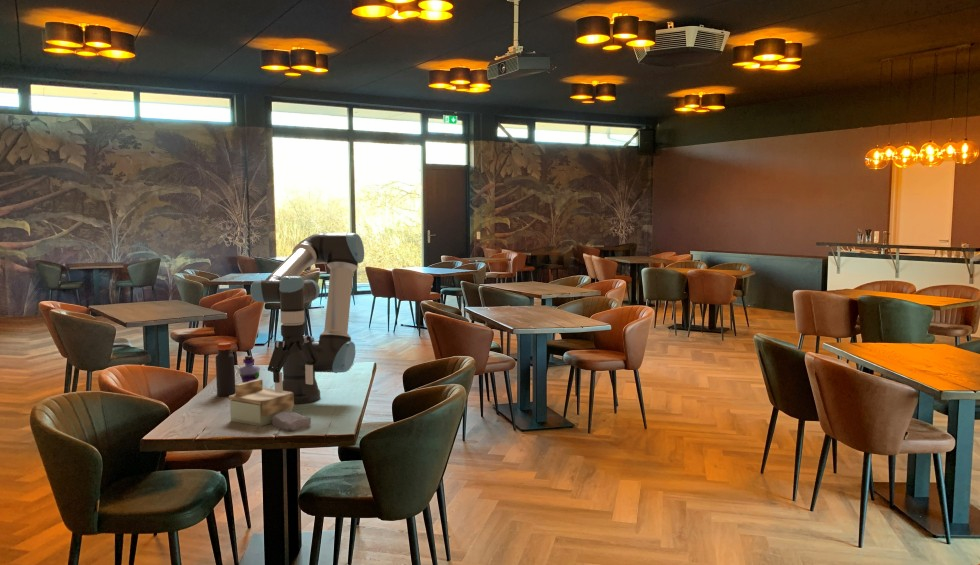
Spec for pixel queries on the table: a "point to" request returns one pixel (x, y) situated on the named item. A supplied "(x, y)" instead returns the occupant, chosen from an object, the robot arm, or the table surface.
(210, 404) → the table surface
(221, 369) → the vinegar
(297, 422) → the stone block
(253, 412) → the cream box
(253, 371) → the potion bottle
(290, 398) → the lid
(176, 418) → the table surface
